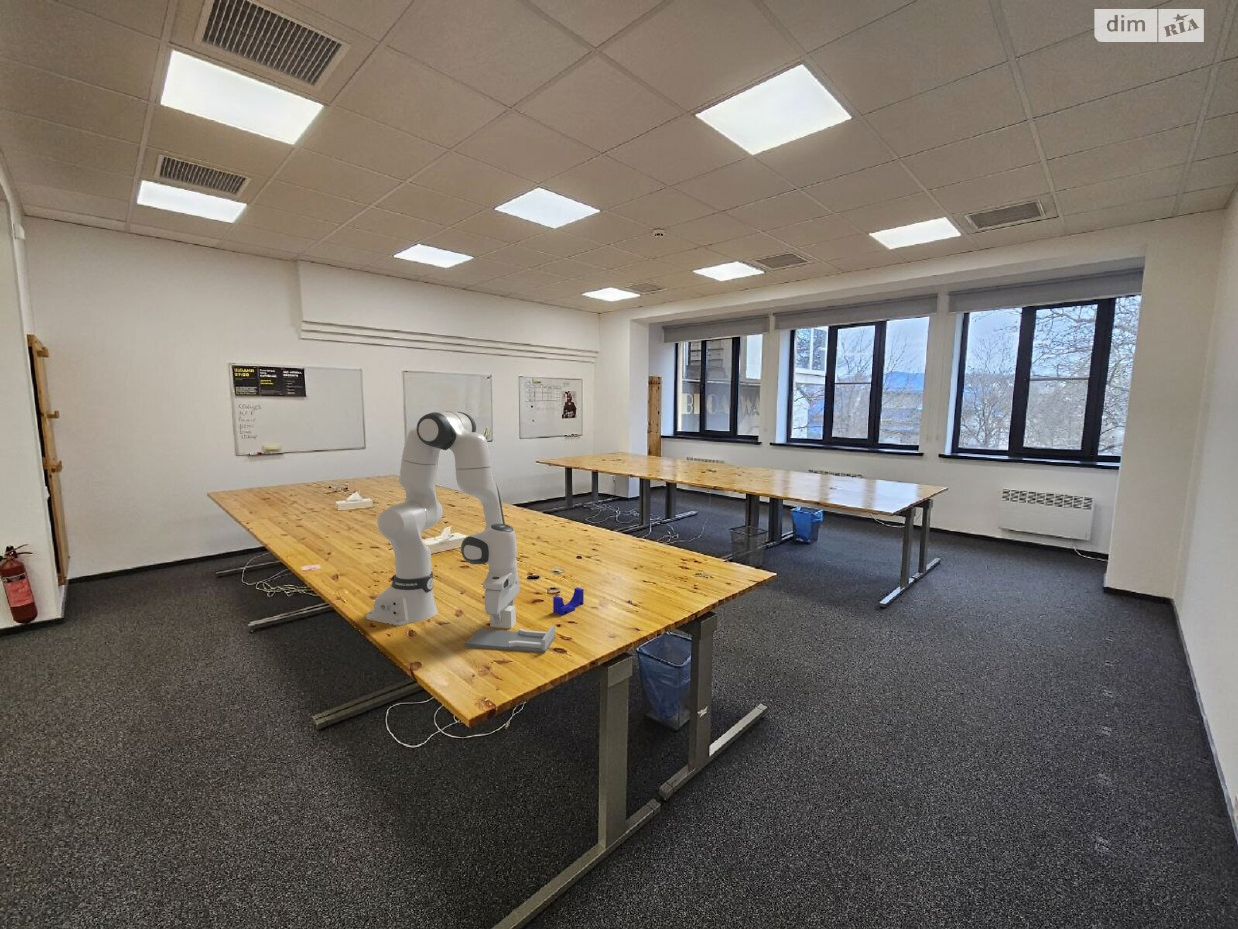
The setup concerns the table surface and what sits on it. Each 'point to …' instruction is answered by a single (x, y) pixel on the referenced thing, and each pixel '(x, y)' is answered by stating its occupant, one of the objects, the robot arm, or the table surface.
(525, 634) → the mounting plate
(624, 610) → the table surface
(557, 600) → the cable clip
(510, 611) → the panel block
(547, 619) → the table surface
